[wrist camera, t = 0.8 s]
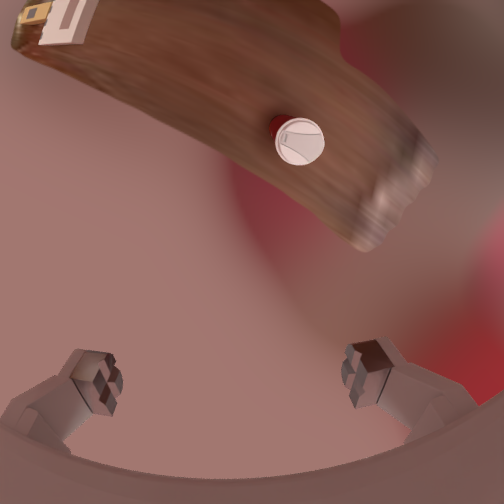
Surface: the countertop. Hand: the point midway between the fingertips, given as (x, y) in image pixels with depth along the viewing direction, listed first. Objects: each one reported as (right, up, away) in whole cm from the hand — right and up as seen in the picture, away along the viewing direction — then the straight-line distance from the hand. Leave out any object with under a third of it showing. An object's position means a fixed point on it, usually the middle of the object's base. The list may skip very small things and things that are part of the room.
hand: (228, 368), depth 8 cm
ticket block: (-34, +52, +18) cm, 65 cm away
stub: (-42, +54, +16) cm, 70 cm away
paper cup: (+7, +28, +40) cm, 50 cm away
